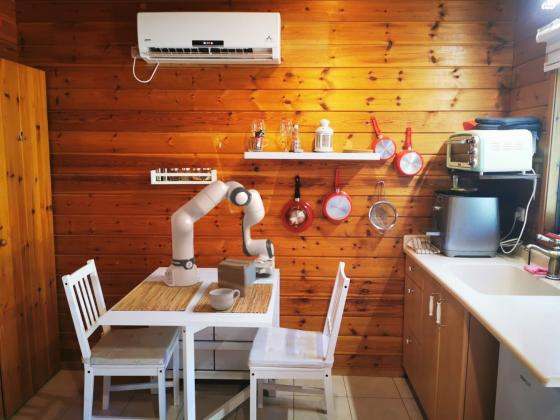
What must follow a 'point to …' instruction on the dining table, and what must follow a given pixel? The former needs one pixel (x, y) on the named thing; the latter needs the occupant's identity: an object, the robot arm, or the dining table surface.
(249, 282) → the case
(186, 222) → the robot arm
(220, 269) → the dark brown box
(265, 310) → the dining table surface
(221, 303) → the teacup
